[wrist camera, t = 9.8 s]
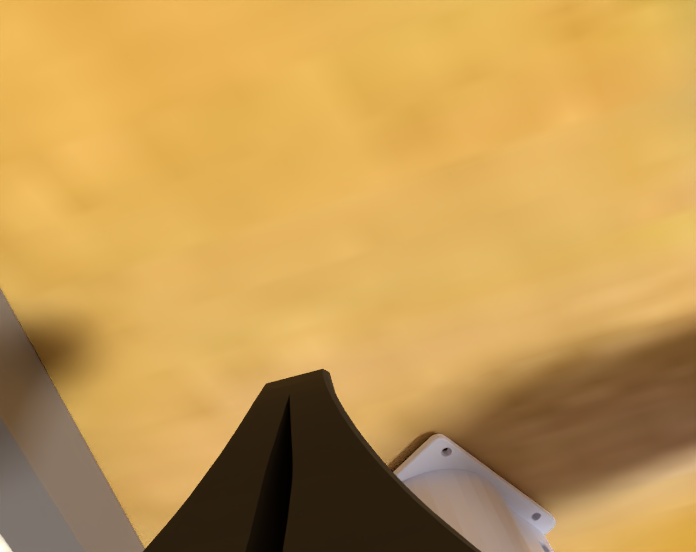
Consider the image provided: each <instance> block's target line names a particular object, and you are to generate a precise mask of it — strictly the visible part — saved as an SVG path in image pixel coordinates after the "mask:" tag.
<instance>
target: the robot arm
mask: <svg viewBox="0 0 696 552" xmlns="http://www.w3.org/2000/svg"><path fill="white" fill-rule="evenodd" d="M444 448H448V449H447V450H445V451H442V450H443V449H444ZM555 524H556V520H555V518H554V517H553V515H552V514H551V513H550V512H548V511H547V510H545V509H544V508H543V507H541V506H540V505H539V504H537V503H536V502H535V501H533V500H532V499H531V498H529V497H528V496H526V495H525V494H524V493H522V492H521V491H520V490H518V489H517V488H516V487H514V486H513V485H511V484H510V483H509V482H507V481H506V480H505V479H503V478H502V477H501V476H499V475H498V474H496V473H495V472H494V471H492V470H491V469H490V468H488V467H487V466H486V465H484V464H483V463H482V462H480V461H479V460H477V459H476V458H475V457H473V456H472V455H471V454H469V453H468V452H467V451H465V450H464V449H462V448H461V447H460V446H458V445H457V444H456V443H454V442H453V441H452V440H450V439H449V438H448V437H446V436H445V435H443V434H435V435H432V436H431V437H430V438H429V439H428V440H427V441H425V442H424V443H423V444H422V445H421V446H420V447H419V448H418V449H417V450H416V451H415V452H414V453H413V454H412V455H411V456H410V457H409V458H408V459H406V460H405V461H404V462H403V463H402V464H401V465H400V466H399V467H398V468H397V469H396V470H395V471H394V472H392V471H391V470H390V469H389V467H388V466H387V465H386V464H385V463H384V462H383V461H382V460H381V458H380V457H379V456H378V455H377V454H376V452H375V451H374V450H373V449H372V447H371V446H370V445H369V444H368V443H367V441H366V440H365V439H364V437H363V436H362V435H361V433H360V432H359V431H358V429H357V428H356V427H355V425H354V424H353V422H352V420H351V419H350V417H349V416H348V414H347V413H346V411H345V410H344V408H343V407H342V405H341V403H340V401H339V399H338V397H337V396H336V394H335V390H334V387H333V383H332V380H331V376H330V373H329V372H328V371H326V370H324V369H321V370H317V371H313V372H309V373H305V374H301V375H297V376H294V377H290V378H286V379H282V380H278V381H274V382H271V383H267V384H265V386H264V387H263V389H262V391H261V392H260V394H259V395H258V397H257V398H256V400H255V401H254V403H253V405H252V406H251V408H250V409H249V411H248V413H247V414H246V416H245V417H244V419H243V421H242V422H241V424H240V425H239V427H238V428H237V430H236V431H235V433H234V435H233V436H232V438H231V439H230V441H229V442H228V444H227V445H226V447H225V448H224V450H223V451H222V453H221V454H220V456H219V457H218V458H217V460H216V461H215V462H214V464H213V465H212V466H211V468H210V469H209V471H208V472H207V473H206V475H205V476H204V477H203V479H202V480H201V481H200V483H199V484H198V486H197V487H196V488H195V490H194V491H193V492H192V494H191V495H190V496H189V498H188V499H187V500H186V501H185V503H184V504H183V505H182V506H181V508H180V509H179V510H178V511H177V513H176V514H175V515H174V516H173V517H172V519H171V520H170V521H169V522H168V523H167V525H166V526H165V527H164V528H163V529H162V530H161V531H160V533H159V534H158V535H157V536H156V537H155V538H154V540H153V541H152V542H151V543H150V544H149V545H148V546H147V548H146V549H145V550H144V551H143V552H554V550H553V549H552V547H551V545H550V544H549V542H548V540H547V539H546V537H545V535H546V534H547V533H548V532H549V531H550V530H552V529H553V528H554V527H555Z"/></svg>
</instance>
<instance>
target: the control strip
mask: <svg viewBox="0 0 696 552" xmlns="http://www.w3.org/2000/svg"><path fill="white" fill-rule="evenodd" d="M0 534H1V535H2V537H3V538H4V540H5V541H6V543H7V544H8V545H9V547H10V548H11V550H12V551H13V552H143V551H144V550H145V549H144V547H143V545H142V543H141V541H140V540H139V538H138V536H137V534H136V532H135V531H134V529H133V527H132V525H131V523H130V522H129V520H128V518H127V516H126V514H125V512H124V511H123V509H122V507H121V505H120V503H119V502H118V500H117V498H116V496H115V494H114V493H113V491H112V489H111V487H110V485H109V484H108V482H107V480H106V478H105V476H104V475H103V473H102V471H101V469H100V467H99V466H98V464H97V462H96V460H95V458H94V457H93V455H92V453H91V451H90V449H89V448H88V446H87V444H86V442H85V440H84V438H83V437H82V435H81V433H80V431H79V429H78V428H77V426H76V424H75V422H74V420H73V419H72V417H71V415H70V413H69V411H68V410H67V408H66V406H65V404H64V402H63V401H62V399H61V397H60V395H59V393H58V392H57V390H56V388H55V386H54V384H53V383H52V381H51V379H50V377H49V375H48V374H47V372H46V370H45V368H44V366H43V364H42V363H41V361H40V359H39V357H38V355H37V354H36V352H35V350H34V348H33V346H32V345H31V343H30V341H29V339H28V337H27V336H26V334H25V332H24V330H23V328H22V327H21V325H20V323H19V321H18V319H17V318H16V316H15V314H14V312H13V310H12V309H11V307H10V305H9V303H8V301H7V300H6V298H5V296H4V294H3V292H2V291H1V289H0Z"/></svg>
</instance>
